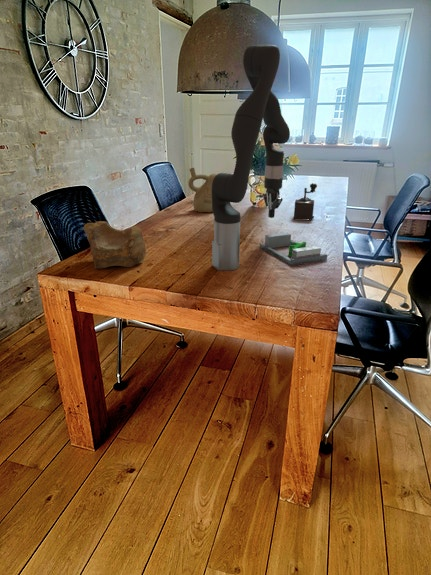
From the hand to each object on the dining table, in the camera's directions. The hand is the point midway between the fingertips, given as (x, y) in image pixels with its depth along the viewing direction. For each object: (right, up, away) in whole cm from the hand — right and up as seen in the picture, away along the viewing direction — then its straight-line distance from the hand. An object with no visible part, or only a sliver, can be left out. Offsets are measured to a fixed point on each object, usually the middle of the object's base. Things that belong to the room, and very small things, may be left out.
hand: (271, 217), depth 165 cm
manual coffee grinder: (+26, +9, +49) cm, 56 cm away
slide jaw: (+2, -13, -2) cm, 13 cm away
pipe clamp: (+8, -18, -12) cm, 23 cm away
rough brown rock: (-63, -22, -24) cm, 71 cm away
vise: (+7, -17, -11) cm, 22 cm away
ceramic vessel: (-31, +16, +63) cm, 71 cm away
